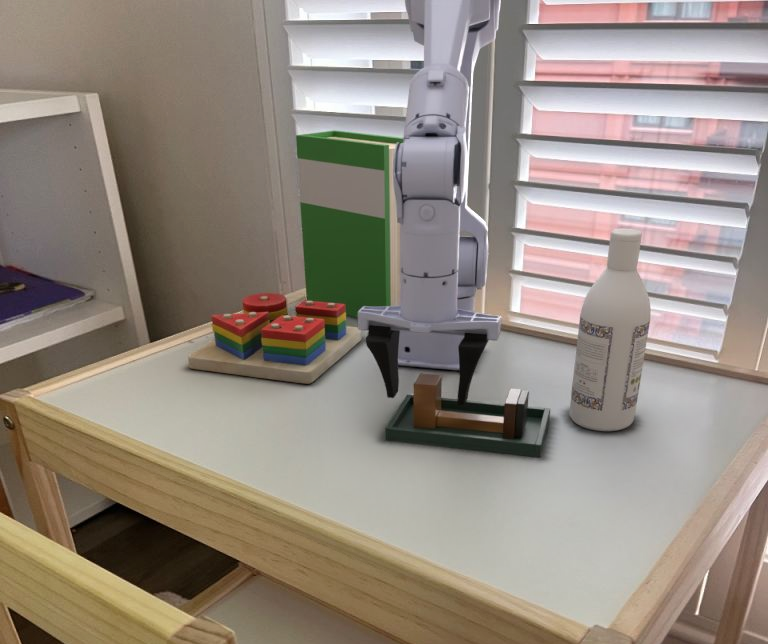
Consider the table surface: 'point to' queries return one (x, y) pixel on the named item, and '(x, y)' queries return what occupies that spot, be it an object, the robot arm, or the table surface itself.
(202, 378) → the table surface
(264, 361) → the shape sorter
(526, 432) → the brush tray
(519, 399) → the brown barbell-shaped piece
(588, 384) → the bath foam
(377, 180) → the hardback book
